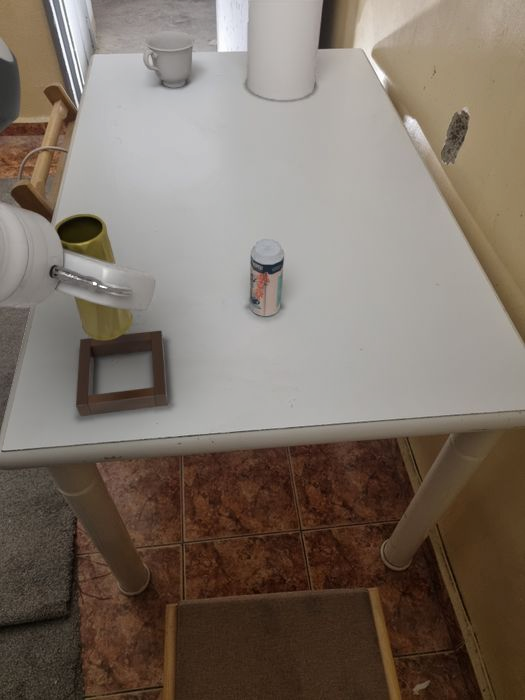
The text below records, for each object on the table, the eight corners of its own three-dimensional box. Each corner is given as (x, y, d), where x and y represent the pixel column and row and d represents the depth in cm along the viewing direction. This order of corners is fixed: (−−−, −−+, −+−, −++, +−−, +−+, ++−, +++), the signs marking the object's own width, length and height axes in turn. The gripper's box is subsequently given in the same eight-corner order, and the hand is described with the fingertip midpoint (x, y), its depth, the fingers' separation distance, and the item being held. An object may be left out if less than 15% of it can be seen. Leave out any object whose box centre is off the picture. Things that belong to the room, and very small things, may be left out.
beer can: (246, 299, 83) (246, 240, 74) (274, 294, 84) (278, 234, 75) (255, 321, 80) (256, 261, 71) (284, 314, 81) (289, 255, 72)
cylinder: (322, 97, 129) (338, -39, 108) (255, 102, 126) (257, -36, 105) (303, 68, 140) (314, -61, 118) (241, 72, 137) (240, -59, 115)
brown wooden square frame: (80, 416, 68) (75, 406, 66) (84, 350, 75) (79, 339, 74) (168, 405, 70) (165, 394, 68) (163, 341, 77) (161, 330, 75)
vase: (72, 330, 63) (35, 235, 52) (104, 299, 67) (76, 204, 56) (112, 348, 61) (83, 254, 50) (143, 315, 65) (122, 221, 54)
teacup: (132, 87, 130) (125, 44, 122) (173, 68, 137) (169, 26, 130) (167, 102, 125) (162, 58, 117) (207, 81, 133) (205, 39, 125)
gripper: (120, 253, 42) (186, 270, 56) (-74, 193, 47) (30, 222, 60) (101, 327, 43) (171, 326, 57) (-89, 261, 48) (17, 275, 61)
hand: (97, 272), depth 58 cm, fingers closed on vase, 5 cm apart
